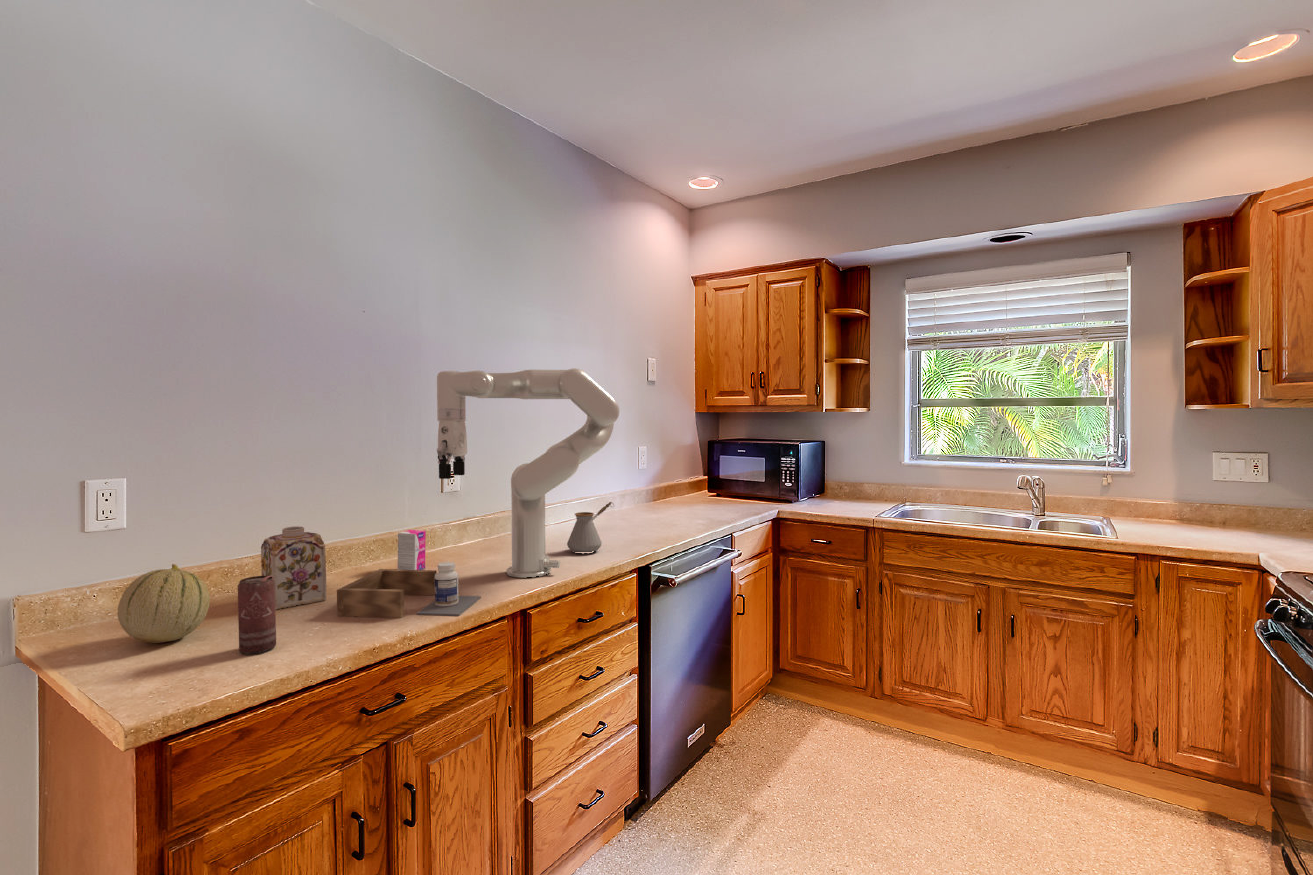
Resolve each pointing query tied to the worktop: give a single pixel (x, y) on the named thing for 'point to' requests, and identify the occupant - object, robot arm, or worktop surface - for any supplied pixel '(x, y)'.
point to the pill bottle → (446, 585)
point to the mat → (450, 607)
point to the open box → (383, 592)
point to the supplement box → (411, 550)
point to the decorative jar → (295, 566)
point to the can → (256, 615)
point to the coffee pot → (585, 532)
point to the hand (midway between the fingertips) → (452, 476)
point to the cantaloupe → (163, 605)
